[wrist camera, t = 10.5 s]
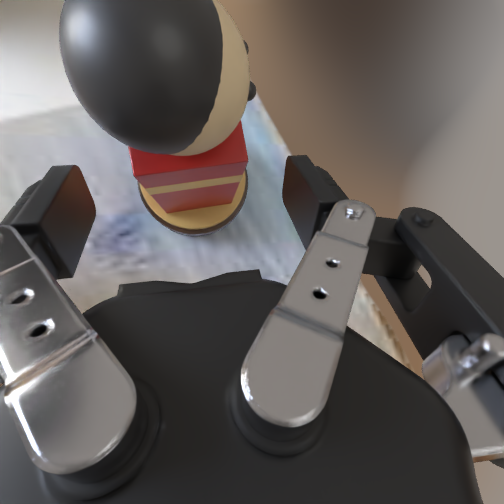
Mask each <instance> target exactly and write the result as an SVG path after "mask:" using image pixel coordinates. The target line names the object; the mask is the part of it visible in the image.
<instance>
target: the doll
mask: <svg viewBox="0 0 504 504" xmlns="http://www.w3.org/2000/svg"><path fill="white" fill-rule="evenodd" d="M59 42H60V51H61V56H62V61H63V65H64V69H65V72H66V75H67V77H68V79H69V82H70V84H71V87H72V89H73V91H74V93H75V95H76V96H77V98H78V100H79V101H80V103H81V104H82V106H83V107H84V109H85V110H86V111H87V113H88V114H89V115H90V117H91V118H92V119H93V120H94V121H95V122H96V123H97V124H98V125H99V126H100V127H101V128H102V129H103V130H105V131H106V132H107V133H108V134H110V135H111V136H112V137H114V138H116V139H117V140H119V141H120V142H122V143H124V144H125V145H128V148H129V154H130V159H131V164H132V170H133V175H134V177H135V178H136V179H137V180H138V181H139V183H140V188H141V191H142V194H143V196H144V198H145V200H146V202H147V204H148V205H149V206H150V208H151V209H152V210H153V211H154V212H155V213H156V214H157V215H158V216H159V217H161V218H162V219H163V220H165V221H166V222H168V223H170V224H172V225H174V226H177V227H180V228H184V229H195V230H197V229H205V228H209V227H212V226H215V225H217V224H219V223H221V222H223V221H224V220H225V219H227V218H228V217H229V216H230V215H231V214H232V213H233V212H234V211H235V209H236V208H237V206H238V205H239V203H240V201H241V199H242V196H243V193H244V190H245V181H246V176H245V168H246V166H247V163H248V155H247V150H246V145H245V139H244V134H243V129H242V124H241V117H242V115H243V113H244V110H245V108H246V104H247V101H251V100H252V99H253V98H254V97H255V95H256V87H255V85H254V84H253V83H252V82H251V81H250V68H249V60H248V56H247V55H248V46H247V43H246V42H245V41H244V40H243V39H242V36H241V34H240V32H239V30H238V28H237V26H236V24H235V22H234V20H233V19H232V17H231V16H230V14H229V13H228V11H227V10H226V9H225V8H224V7H223V5H222V4H221V3H220V2H219V1H218V0H65V1H64V4H63V8H62V12H61V17H60V30H59Z"/></svg>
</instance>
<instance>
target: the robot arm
mask: <svg viewBox="0 0 504 504" xmlns="http://www.w3.org/2000/svg"><path fill="white" fill-rule="evenodd" d="M282 198H283V203H284V205H285V207H286V210H287V212H288V214H289V216H290V218H291V220H292V222H293V224H294V226H295V229H296V231H297V233H298V235H299V237H300V239H301V241H302V243H303V245H304V248H305V250H306V252H305V254H304V256H303V258H302V260H301V261H300V263H299V265H298V267H297V269H296V271H295V273H294V275H293V276H292V278H291V280H290V282H289V284H288V286H287V285H284V284H282V283H279V282H276V281H272V280H267V279H262V278H261V274H260V270H259V269H257V270H248V271H239V272H230V273H225V274H222V275H219V276H215V277H212V278H209V279H206V280H203V281H200V282H197V283H191V284H189V283H177V282H165V281H149V282H139V283H130V284H121V285H119V290H118V295H117V296H115V297H112V298H110V299H108V300H105V301H103V302H101V303H99V304H97V305H95V306H94V307H92V308H90V309H89V310H87V311H86V312H84V313H83V314H81V312H80V311H79V310H78V309H77V307H76V306H75V305H74V303H73V302H72V301H71V299H70V298H69V297H68V295H67V294H66V293H65V292H64V290H63V289H62V288H61V286H60V285H59V284H58V282H57V281H56V280H57V279H64V278H73V276H74V273H75V270H76V268H77V265H78V262H79V260H80V257H81V254H82V252H83V249H84V246H85V243H86V241H87V238H88V235H89V233H90V230H91V227H92V225H93V222H94V219H95V216H96V208H95V204H94V201H93V198H92V196H91V194H90V191H89V189H88V186H87V184H86V182H85V179H84V177H83V174H82V172H81V170H80V168H79V167H78V166H77V165H63V166H52V167H51V168H50V170H49V171H48V172H47V174H46V175H45V177H44V178H43V179H42V180H39V181H38V182H36V183H35V184H33V185H31V186H30V187H28V188H27V189H26V191H25V192H24V193H23V195H22V196H21V198H19V200H18V201H17V202H16V205H15V206H13V208H12V209H11V210H10V212H9V213H8V214H7V215H6V217H5V218H4V219H3V221H2V222H1V223H0V373H1V376H2V378H3V380H4V382H5V383H4V384H3V385H2V386H1V387H0V504H483V501H482V499H481V495H480V491H479V487H478V483H477V479H476V475H475V469H474V464H473V463H476V462H482V461H488V460H489V461H491V462H492V463H493V464H495V465H497V466H499V467H501V468H504V278H503V277H502V276H501V275H500V274H499V273H498V272H497V271H496V270H495V269H494V268H493V267H492V266H491V265H489V263H488V262H486V261H485V260H484V259H483V258H482V257H481V256H480V255H479V254H478V253H477V252H476V251H475V250H474V249H473V248H472V247H471V246H470V245H469V244H468V243H467V242H466V241H465V240H464V239H463V238H462V237H461V236H460V235H459V234H457V232H455V231H454V230H453V229H452V228H451V227H450V226H449V225H448V224H447V223H446V222H445V221H444V220H443V219H442V218H441V217H440V216H438V215H437V214H435V213H433V212H431V211H429V210H426V209H422V208H416V207H410V208H405V209H403V210H402V211H401V213H400V215H399V217H398V219H390V218H382V217H376V213H375V211H374V210H373V208H372V207H370V206H369V205H367V204H365V203H363V202H360V201H357V200H349V198H348V197H347V196H346V195H345V193H344V192H343V191H342V190H341V188H340V187H339V186H338V185H337V184H336V182H335V181H334V180H333V178H332V177H331V176H330V175H329V173H328V172H327V171H325V170H323V169H322V168H320V167H318V166H314V164H313V163H312V162H311V160H310V159H309V158H308V157H307V155H297V156H288V157H287V160H286V166H285V173H284V181H283V189H282ZM421 265H423V266H424V268H425V269H426V270H427V271H428V273H429V274H430V277H431V280H432V285H431V288H429V287H428V286H427V284H426V283H425V282H424V280H423V279H422V277H420V275H419V273H418V272H417V271H418V269H419V267H420V266H421ZM361 273H363V274H370V275H374V277H375V279H376V280H377V282H378V284H379V286H380V287H381V289H382V291H383V292H384V294H385V295H386V298H387V299H388V301H389V302H390V304H391V306H392V308H393V309H394V311H395V313H396V314H397V316H398V318H399V319H400V321H401V323H402V325H403V327H404V328H405V330H406V332H407V333H408V335H409V337H410V338H411V340H412V342H413V344H414V345H415V347H416V349H417V350H418V352H419V354H420V355H421V357H422V359H423V364H422V374H423V377H424V380H423V379H422V378H421V377H420V376H418V375H417V374H415V373H414V372H412V371H411V370H410V369H408V368H407V367H405V366H404V365H402V364H401V363H400V362H398V361H397V360H395V359H394V358H392V357H391V356H390V355H388V354H387V353H385V352H384V351H382V350H381V349H380V348H378V347H377V346H375V345H374V344H372V343H371V342H370V341H368V340H367V339H365V338H364V337H362V336H361V335H360V334H358V333H357V332H355V331H354V330H352V329H351V328H350V327H348V326H347V322H348V319H349V315H350V312H351V308H352V305H353V301H354V298H355V294H356V291H357V287H358V284H359V281H360V277H361Z"/></svg>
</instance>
